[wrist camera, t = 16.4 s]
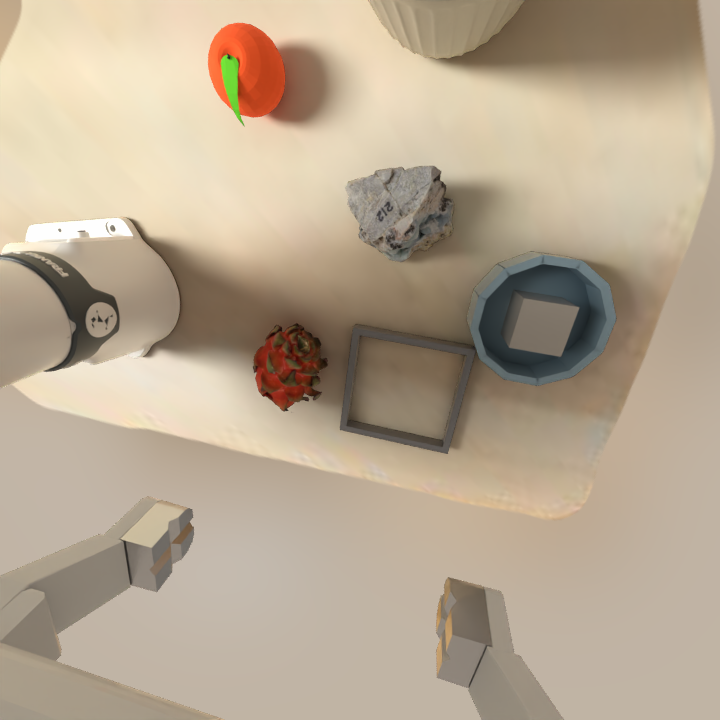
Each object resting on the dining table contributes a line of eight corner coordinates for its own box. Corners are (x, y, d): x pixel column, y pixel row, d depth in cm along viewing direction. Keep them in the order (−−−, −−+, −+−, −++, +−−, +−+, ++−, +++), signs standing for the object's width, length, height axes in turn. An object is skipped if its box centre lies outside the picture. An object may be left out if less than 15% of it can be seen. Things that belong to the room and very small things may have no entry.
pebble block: (500, 333, 40) (508, 347, 36) (513, 289, 38) (524, 298, 34) (546, 341, 40) (561, 356, 35) (561, 297, 38) (579, 307, 33)
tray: (342, 423, 49) (339, 429, 48) (355, 324, 44) (353, 327, 43) (447, 446, 48) (447, 453, 46) (474, 346, 42) (475, 350, 41)
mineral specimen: (407, 241, 44) (424, 149, 38) (453, 268, 39) (482, 166, 33) (340, 252, 40) (347, 149, 33) (383, 284, 35) (401, 170, 28)
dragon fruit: (320, 310, 46) (304, 383, 52) (251, 306, 42) (243, 385, 48) (342, 346, 40) (321, 424, 46) (264, 346, 36) (253, 431, 42)
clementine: (295, 138, 38) (266, 120, 32) (234, 135, 39) (194, 117, 33) (296, 44, 35) (265, 3, 29) (230, 43, 36) (186, 3, 30)
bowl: (456, 356, 43) (459, 370, 39) (485, 244, 38) (491, 246, 34) (569, 377, 41) (584, 395, 37) (614, 263, 37) (637, 268, 32)
